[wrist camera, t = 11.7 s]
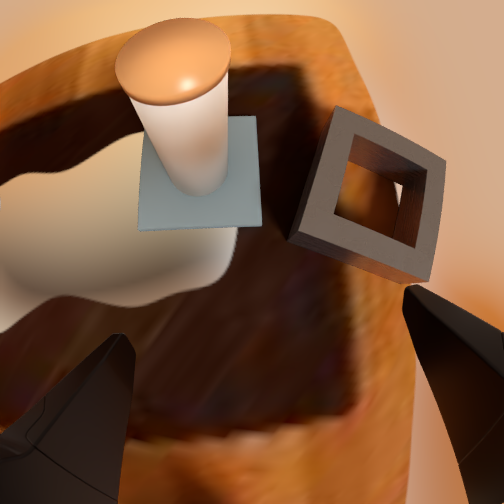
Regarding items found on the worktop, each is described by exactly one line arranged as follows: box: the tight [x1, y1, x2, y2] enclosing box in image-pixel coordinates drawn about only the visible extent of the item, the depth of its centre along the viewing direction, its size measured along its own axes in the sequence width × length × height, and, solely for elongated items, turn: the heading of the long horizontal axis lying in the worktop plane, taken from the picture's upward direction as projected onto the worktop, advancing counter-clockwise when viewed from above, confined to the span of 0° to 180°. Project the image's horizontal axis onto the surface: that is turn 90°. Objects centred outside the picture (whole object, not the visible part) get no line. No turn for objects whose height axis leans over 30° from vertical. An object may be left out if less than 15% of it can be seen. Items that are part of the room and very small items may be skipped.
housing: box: [287, 106, 446, 284], centre depth 21 cm, size 10×10×4 cm
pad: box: [138, 116, 262, 231], centre depth 22 cm, size 9×9×1 cm
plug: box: [115, 18, 231, 196], centre depth 16 cm, size 5×5×12 cm
